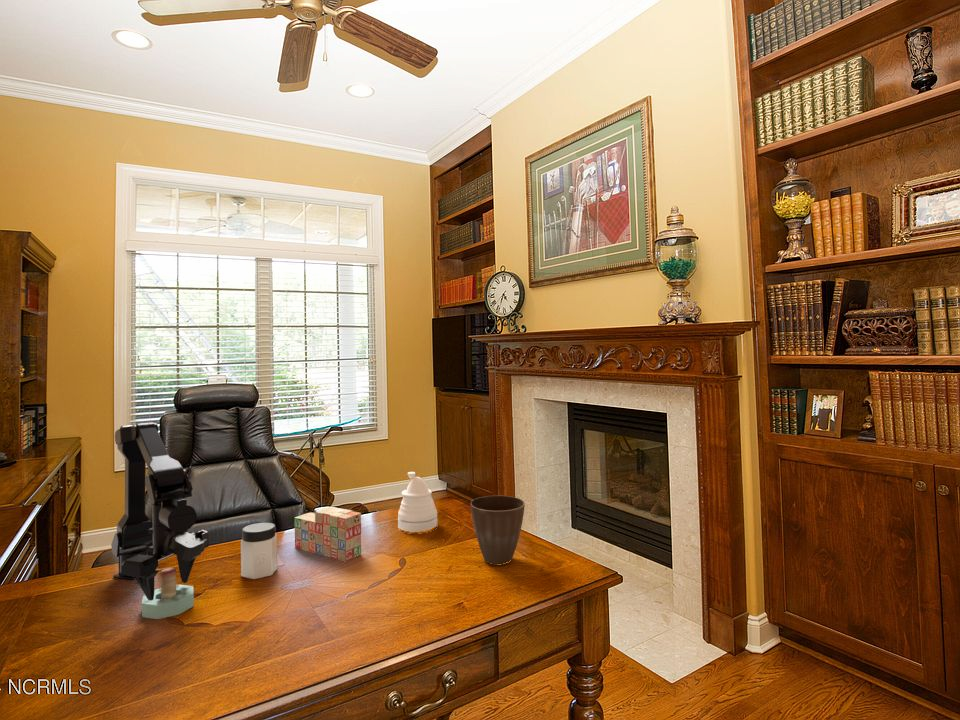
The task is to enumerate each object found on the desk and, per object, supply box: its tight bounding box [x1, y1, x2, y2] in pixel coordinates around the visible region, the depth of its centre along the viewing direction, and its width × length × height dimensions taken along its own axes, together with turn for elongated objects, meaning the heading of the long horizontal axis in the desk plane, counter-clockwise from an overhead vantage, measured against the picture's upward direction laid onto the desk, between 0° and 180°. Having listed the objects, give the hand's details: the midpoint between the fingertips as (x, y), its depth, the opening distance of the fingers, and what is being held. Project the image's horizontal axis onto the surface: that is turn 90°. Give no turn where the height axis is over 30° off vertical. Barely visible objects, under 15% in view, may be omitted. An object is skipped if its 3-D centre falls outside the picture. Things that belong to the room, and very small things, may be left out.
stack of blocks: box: [293, 506, 362, 562], centre depth 156 cm, size 21×6×12 cm, turn 58°
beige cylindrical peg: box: [160, 567, 177, 600], centre depth 121 cm, size 3×3×8 cm
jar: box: [240, 522, 278, 580], centre depth 141 cm, size 9×8×12 cm
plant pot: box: [470, 495, 526, 564], centre depth 147 cm, size 15×15×16 cm
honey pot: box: [397, 471, 438, 532], centre depth 177 cm, size 13×13×18 cm
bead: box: [141, 584, 195, 620], centre depth 121 cm, size 10×10×3 cm
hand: (168, 590), depth 121 cm, fingers open, 9 cm apart
